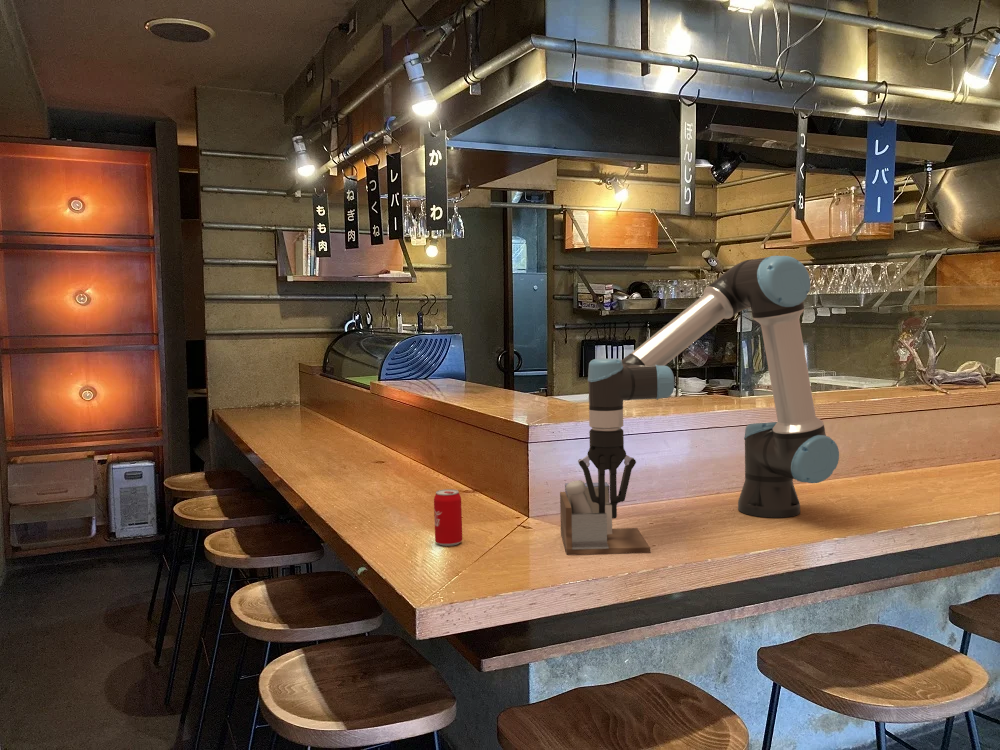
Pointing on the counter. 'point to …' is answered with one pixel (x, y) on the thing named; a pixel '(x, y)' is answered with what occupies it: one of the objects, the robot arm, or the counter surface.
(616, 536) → the wooden l-bracket
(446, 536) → the beverage can
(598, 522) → the bookend
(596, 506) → the book block
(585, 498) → the salt shaker
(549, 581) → the counter surface
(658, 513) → the counter surface
